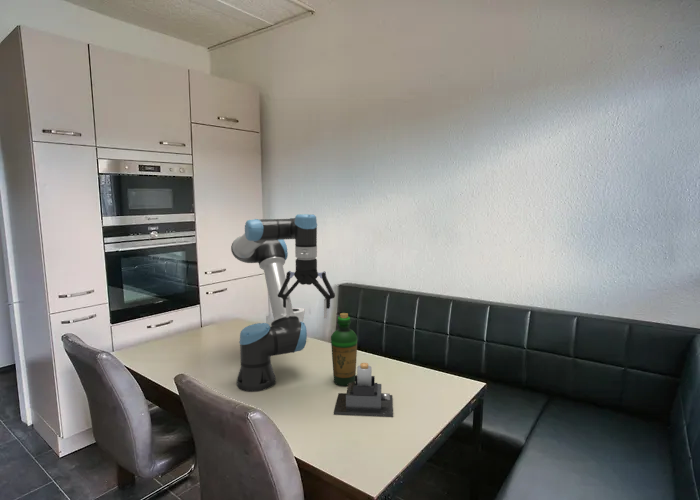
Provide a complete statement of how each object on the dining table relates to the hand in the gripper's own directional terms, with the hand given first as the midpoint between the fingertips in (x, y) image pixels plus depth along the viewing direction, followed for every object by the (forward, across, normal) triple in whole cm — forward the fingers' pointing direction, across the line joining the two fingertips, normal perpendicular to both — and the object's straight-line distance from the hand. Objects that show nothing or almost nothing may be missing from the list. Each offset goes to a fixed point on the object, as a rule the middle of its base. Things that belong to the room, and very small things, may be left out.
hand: (306, 316), depth 147 cm
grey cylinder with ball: (+24, +21, -5) cm, 33 cm away
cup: (+32, -16, +59) cm, 69 cm away
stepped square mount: (+30, +21, -5) cm, 37 cm away
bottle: (+31, +13, +15) cm, 37 cm away
